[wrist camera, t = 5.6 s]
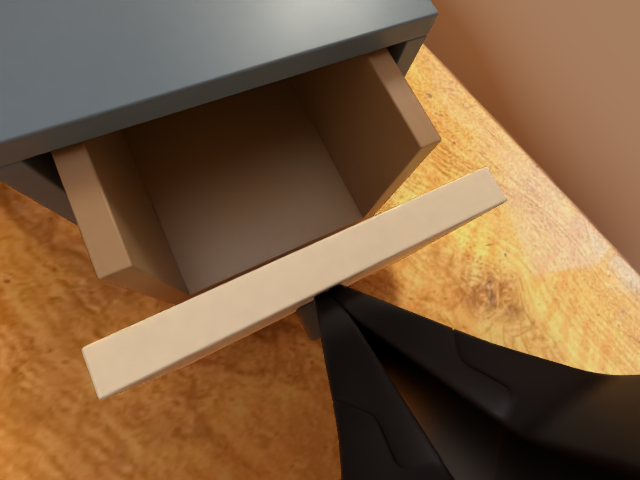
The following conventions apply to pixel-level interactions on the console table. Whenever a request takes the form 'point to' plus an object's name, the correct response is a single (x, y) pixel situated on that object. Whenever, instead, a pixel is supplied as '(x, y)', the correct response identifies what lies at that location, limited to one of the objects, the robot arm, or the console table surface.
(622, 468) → the robot arm
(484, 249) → the console table surface
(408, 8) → the cabinet
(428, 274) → the console table surface
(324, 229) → the drawer
